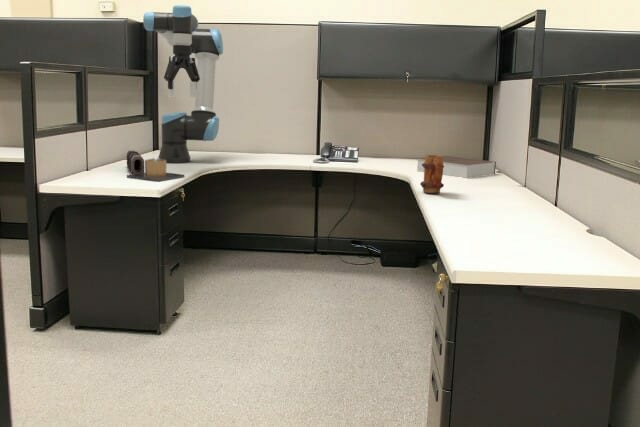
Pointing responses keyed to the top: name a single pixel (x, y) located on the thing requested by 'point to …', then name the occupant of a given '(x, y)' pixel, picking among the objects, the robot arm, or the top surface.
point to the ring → (155, 168)
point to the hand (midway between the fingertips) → (182, 97)
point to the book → (463, 167)
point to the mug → (432, 174)
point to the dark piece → (153, 178)
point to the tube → (135, 162)
